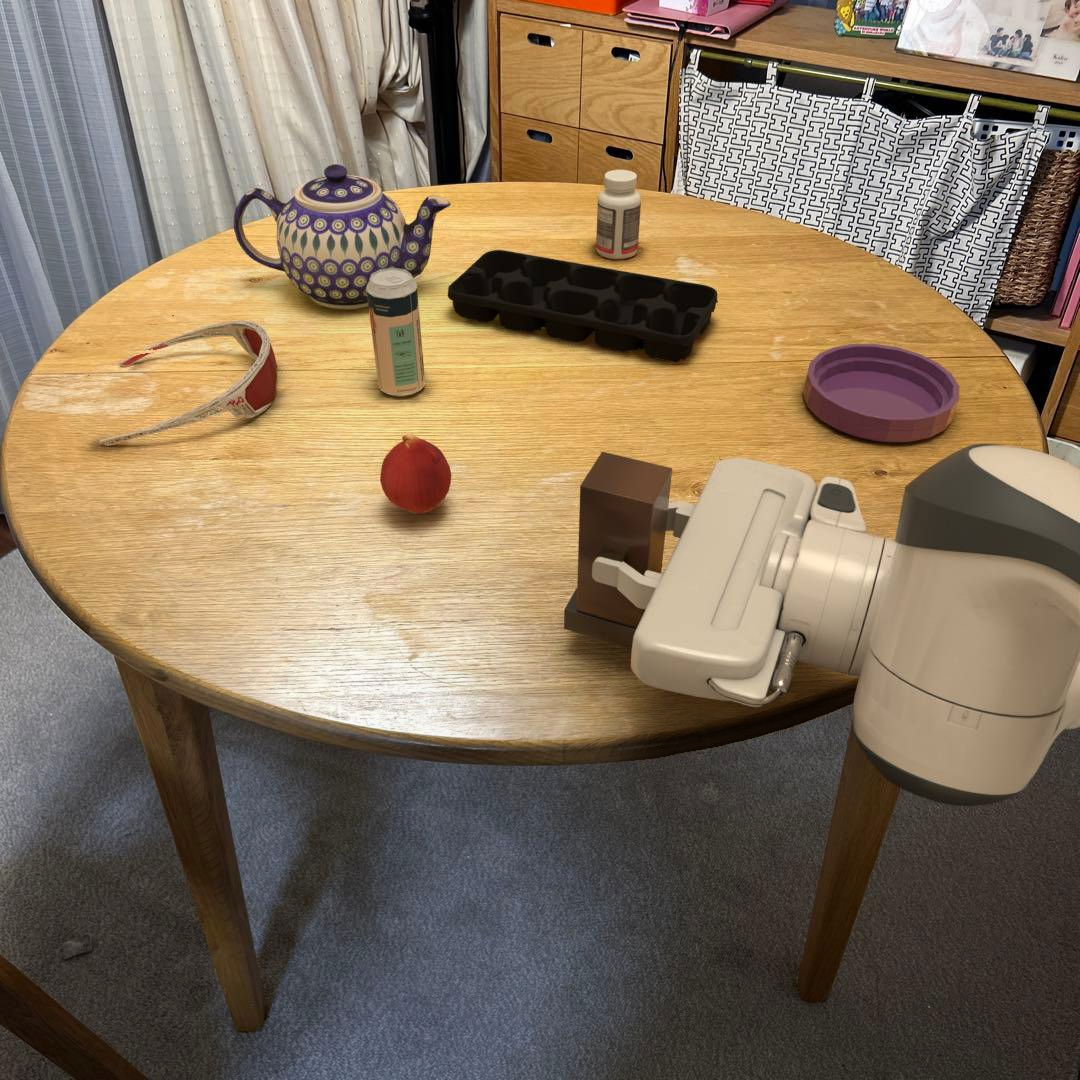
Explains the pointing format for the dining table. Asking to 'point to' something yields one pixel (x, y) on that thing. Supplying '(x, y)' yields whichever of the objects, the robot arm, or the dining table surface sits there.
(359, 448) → the dining table surface
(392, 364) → the beer can
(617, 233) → the pill bottle
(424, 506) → the onion
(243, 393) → the sunglasses
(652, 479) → the brown rectangular block
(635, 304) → the black muffin tray
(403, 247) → the teapot
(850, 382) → the purple round dish
